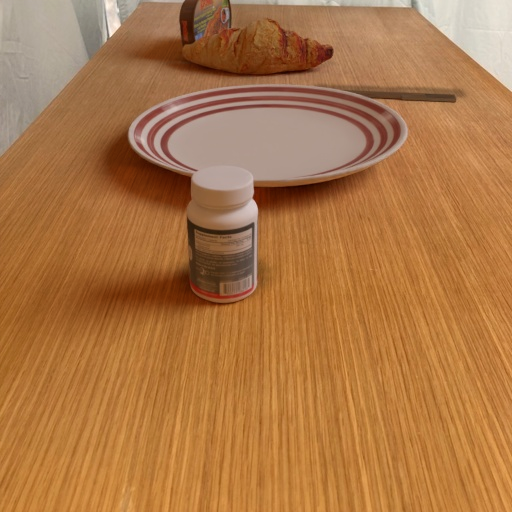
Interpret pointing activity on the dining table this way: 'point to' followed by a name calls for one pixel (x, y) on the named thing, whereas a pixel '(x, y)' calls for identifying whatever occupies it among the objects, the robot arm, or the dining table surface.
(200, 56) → the croissant
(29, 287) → the dining table surface
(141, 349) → the dining table surface
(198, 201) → the pill bottle
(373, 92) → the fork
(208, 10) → the tin
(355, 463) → the dining table surface
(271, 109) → the dinner plate
